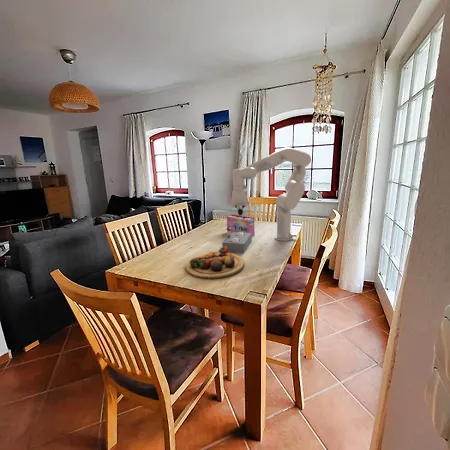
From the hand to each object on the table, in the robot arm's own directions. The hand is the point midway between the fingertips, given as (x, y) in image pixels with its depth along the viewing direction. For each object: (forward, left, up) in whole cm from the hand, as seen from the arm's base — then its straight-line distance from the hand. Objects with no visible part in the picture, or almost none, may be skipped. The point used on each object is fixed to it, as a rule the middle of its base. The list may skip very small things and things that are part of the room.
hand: (240, 214), depth 167 cm
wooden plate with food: (+5, +42, -20) cm, 47 cm away
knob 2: (+1, 0, -19) cm, 19 cm away
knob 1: (+1, +14, -19) cm, 24 cm away
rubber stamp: (+7, +7, -14) cm, 17 cm away
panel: (+1, +7, -20) cm, 21 cm away
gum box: (+6, -21, -20) cm, 30 cm away
